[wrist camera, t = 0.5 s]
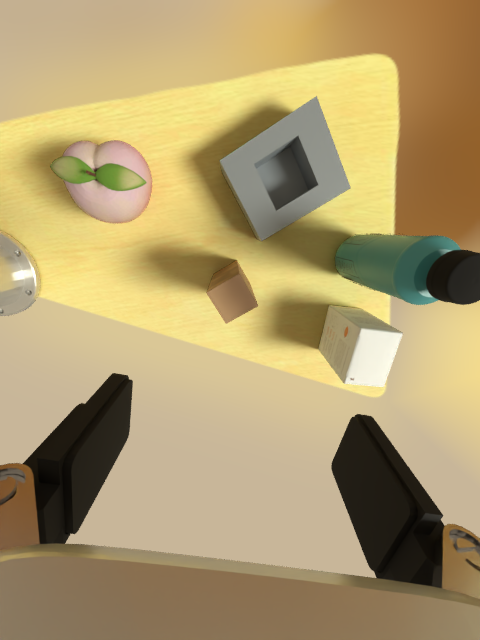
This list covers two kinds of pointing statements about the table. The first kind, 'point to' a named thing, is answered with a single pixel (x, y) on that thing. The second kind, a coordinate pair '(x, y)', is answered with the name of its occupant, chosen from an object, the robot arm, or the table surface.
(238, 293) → the walnut peg
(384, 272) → the beverage bottle
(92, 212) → the decorative fruit
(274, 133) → the socket block
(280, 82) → the table surface
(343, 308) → the small box
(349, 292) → the table surface
